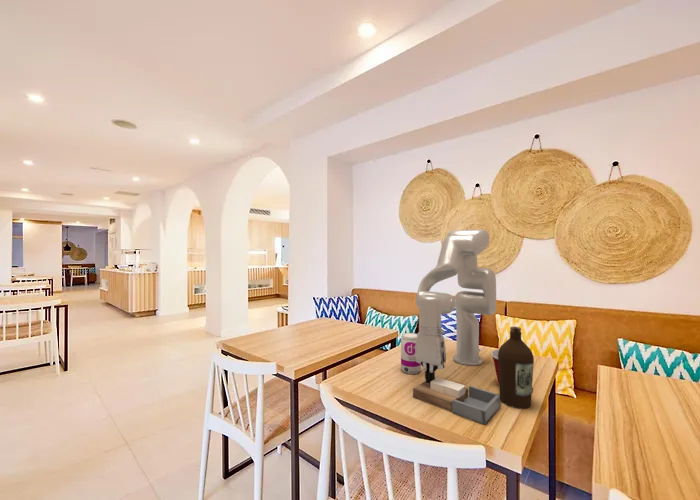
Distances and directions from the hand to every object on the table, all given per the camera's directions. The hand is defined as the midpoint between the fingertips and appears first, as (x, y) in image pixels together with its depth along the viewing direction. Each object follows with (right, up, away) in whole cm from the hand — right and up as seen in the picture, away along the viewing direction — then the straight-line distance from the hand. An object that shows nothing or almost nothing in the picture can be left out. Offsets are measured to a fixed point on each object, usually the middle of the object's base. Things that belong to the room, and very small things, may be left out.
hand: (429, 381), depth 112 cm
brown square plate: (+3, -4, -3) cm, 6 cm away
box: (+12, -4, -11) cm, 17 cm away
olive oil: (+27, -4, -6) cm, 28 cm away
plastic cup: (+30, -4, +6) cm, 31 cm away
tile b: (+7, -1, -6) cm, 9 cm away
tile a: (+3, -1, -3) cm, 4 cm away
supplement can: (-3, -4, +21) cm, 21 cm away
